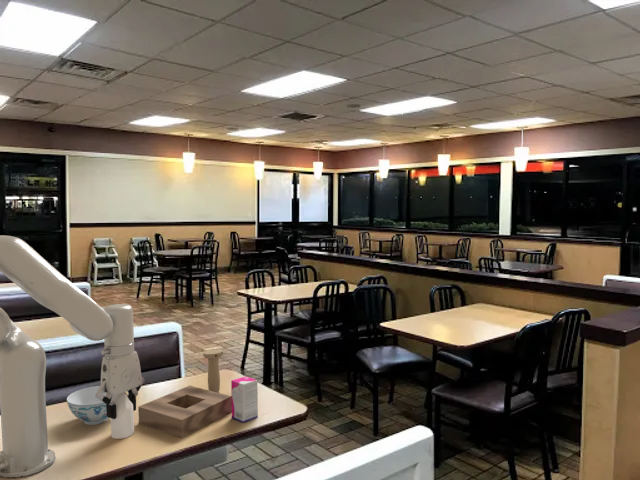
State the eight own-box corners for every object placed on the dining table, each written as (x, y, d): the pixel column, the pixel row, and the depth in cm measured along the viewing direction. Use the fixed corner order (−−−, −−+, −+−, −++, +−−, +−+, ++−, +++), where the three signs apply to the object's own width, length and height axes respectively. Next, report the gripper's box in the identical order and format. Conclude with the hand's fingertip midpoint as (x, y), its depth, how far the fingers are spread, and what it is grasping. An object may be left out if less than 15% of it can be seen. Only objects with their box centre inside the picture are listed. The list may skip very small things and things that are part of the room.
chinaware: (59, 420, 150) (58, 395, 149) (109, 405, 161) (108, 382, 160) (80, 436, 139) (79, 409, 139) (132, 419, 150) (131, 393, 150)
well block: (182, 437, 138) (181, 420, 137) (138, 423, 147) (138, 406, 147) (231, 412, 155) (231, 396, 154) (190, 400, 164) (189, 385, 164)
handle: (226, 396, 168) (225, 351, 167) (207, 400, 164) (206, 355, 163) (220, 391, 172) (219, 348, 171) (202, 395, 168) (201, 351, 167)
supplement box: (258, 417, 151) (258, 379, 150) (243, 423, 147) (242, 385, 146) (246, 411, 155) (245, 375, 154) (230, 418, 151) (230, 380, 150)
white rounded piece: (109, 397, 136) (109, 390, 141) (110, 440, 137) (111, 431, 142) (132, 394, 138) (132, 387, 143) (134, 436, 139) (134, 428, 144)
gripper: (100, 359, 129) (102, 428, 131) (154, 344, 144) (156, 405, 145) (82, 355, 133) (85, 422, 135) (136, 340, 148) (138, 400, 149)
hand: (121, 413), depth 140 cm, fingers closed on white rounded piece, 5 cm apart
